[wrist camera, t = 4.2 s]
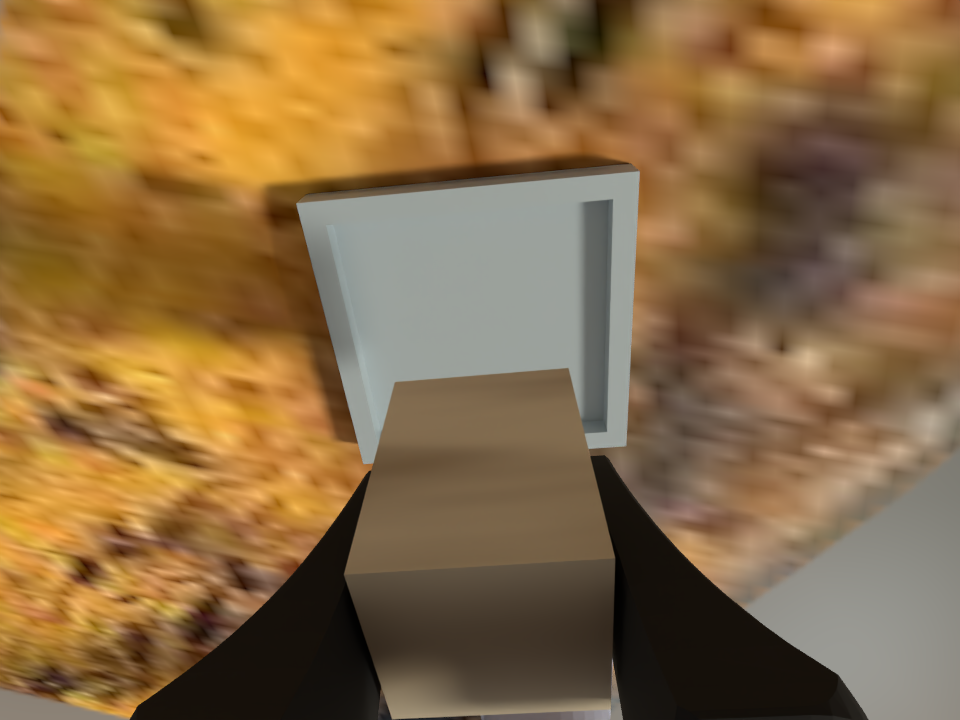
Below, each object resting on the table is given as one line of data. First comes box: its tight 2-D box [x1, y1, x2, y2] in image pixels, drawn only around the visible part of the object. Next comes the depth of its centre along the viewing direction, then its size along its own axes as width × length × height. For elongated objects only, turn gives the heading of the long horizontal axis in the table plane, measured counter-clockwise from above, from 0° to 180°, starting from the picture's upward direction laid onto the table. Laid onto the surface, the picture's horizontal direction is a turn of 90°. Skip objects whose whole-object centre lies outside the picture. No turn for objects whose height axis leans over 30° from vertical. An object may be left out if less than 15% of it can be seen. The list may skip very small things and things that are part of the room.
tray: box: [296, 164, 640, 464], centre depth 21 cm, size 11×11×1 cm
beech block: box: [344, 368, 615, 719], centre depth 13 cm, size 4×4×6 cm
